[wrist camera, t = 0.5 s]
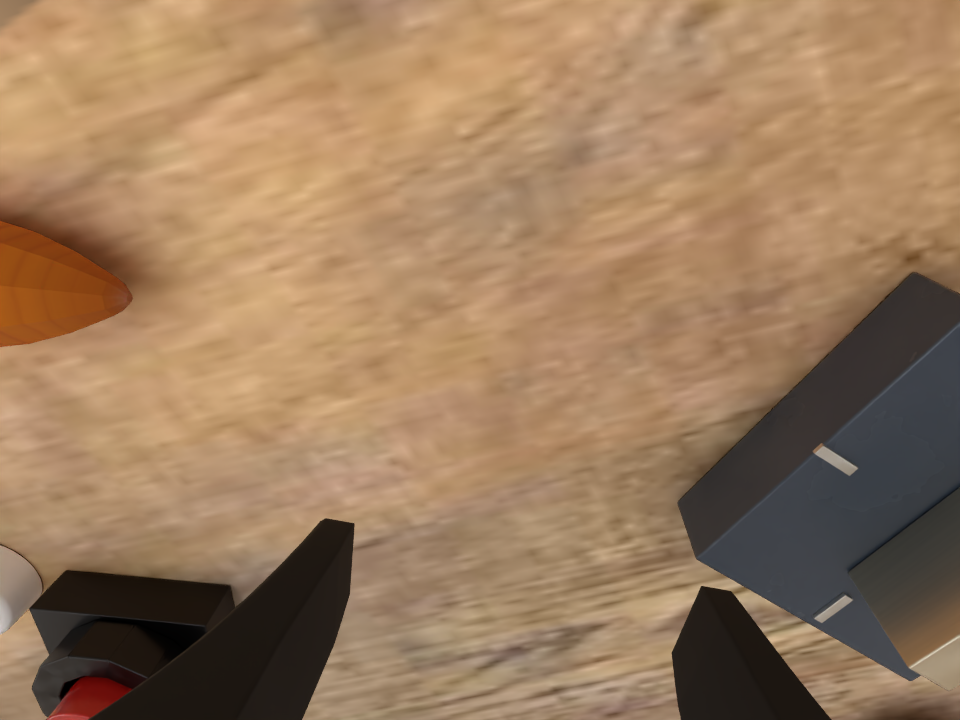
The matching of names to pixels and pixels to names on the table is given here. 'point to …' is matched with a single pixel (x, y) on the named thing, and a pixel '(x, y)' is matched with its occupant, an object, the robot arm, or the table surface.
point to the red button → (88, 698)
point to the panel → (841, 468)
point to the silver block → (920, 592)
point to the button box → (118, 628)
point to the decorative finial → (16, 587)
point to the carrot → (50, 288)
